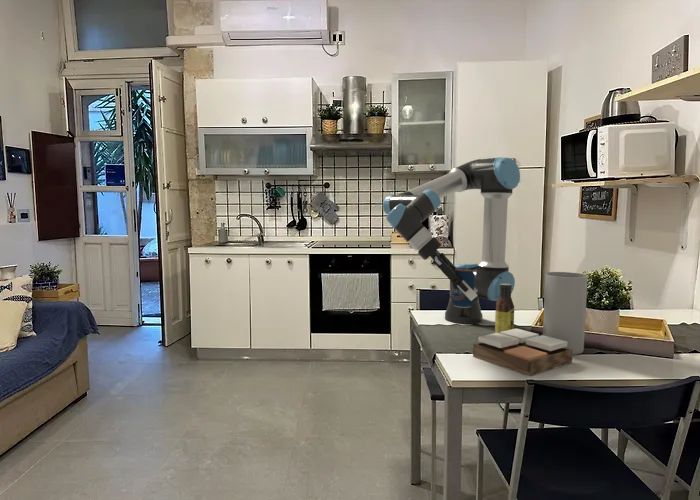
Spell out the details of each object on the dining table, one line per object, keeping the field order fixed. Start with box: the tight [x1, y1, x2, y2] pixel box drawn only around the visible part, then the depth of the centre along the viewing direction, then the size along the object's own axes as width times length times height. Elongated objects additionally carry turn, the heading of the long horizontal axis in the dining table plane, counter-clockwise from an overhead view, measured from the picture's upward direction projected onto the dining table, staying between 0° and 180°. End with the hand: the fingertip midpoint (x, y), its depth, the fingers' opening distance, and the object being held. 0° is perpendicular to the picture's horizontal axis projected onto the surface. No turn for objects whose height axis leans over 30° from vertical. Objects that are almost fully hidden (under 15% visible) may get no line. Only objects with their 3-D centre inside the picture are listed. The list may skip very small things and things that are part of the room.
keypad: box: [472, 342, 573, 377], centre depth 153 cm, size 21×21×4 cm
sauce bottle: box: [494, 284, 515, 334], centre depth 173 cm, size 7×6×20 cm
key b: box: [478, 332, 519, 348], centre depth 154 cm, size 8×8×2 cm
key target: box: [504, 346, 547, 361], centre depth 146 cm, size 8×8×2 cm
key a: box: [500, 328, 540, 343], centre depth 159 cm, size 8×8×2 cm
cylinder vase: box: [542, 271, 589, 356], centre depth 162 cm, size 12×12×25 cm
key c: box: [526, 334, 567, 351], centre depth 151 cm, size 8×8×2 cm
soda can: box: [452, 268, 475, 308], centre depth 161 cm, size 7×7×12 cm
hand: (474, 295), depth 160 cm, fingers closed on soda can, 7 cm apart
